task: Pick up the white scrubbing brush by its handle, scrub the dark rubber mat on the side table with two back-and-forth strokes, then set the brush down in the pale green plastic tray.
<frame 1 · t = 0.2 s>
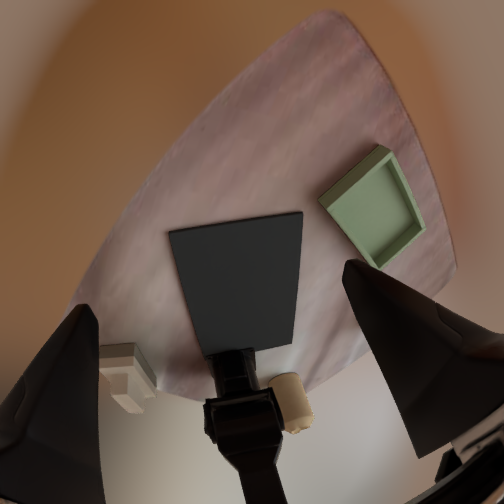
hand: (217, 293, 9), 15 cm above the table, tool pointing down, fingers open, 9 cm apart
mat: (243, 300, 30), on the table
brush: (129, 363, 33), on the table
candle: (283, 379, 44), on the table
tray: (375, 211, 27), on the table
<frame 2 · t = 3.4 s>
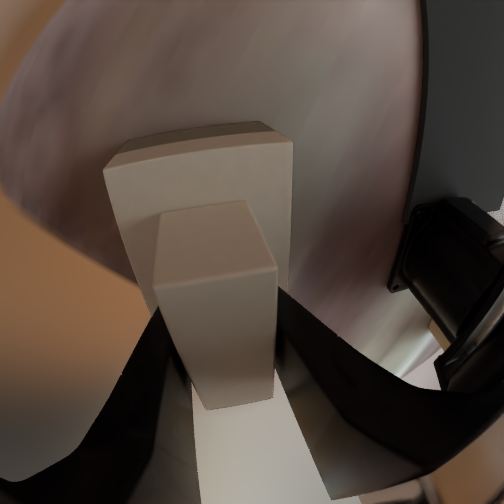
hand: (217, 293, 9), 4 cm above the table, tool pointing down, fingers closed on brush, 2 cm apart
mat: (484, 72, 9), on the table
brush: (206, 231, 12), on the table, touching gripper
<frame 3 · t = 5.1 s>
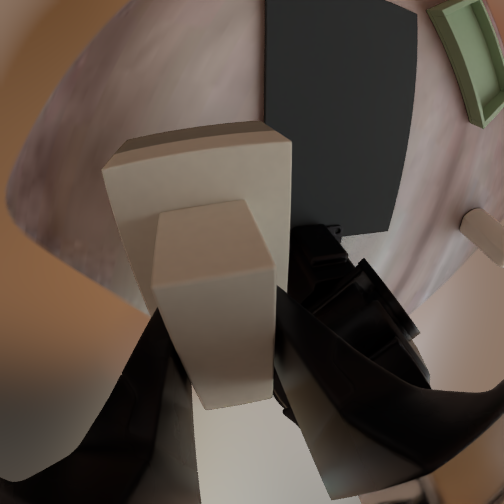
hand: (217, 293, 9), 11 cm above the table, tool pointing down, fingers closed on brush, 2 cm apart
mat: (346, 115, 17), on the table
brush: (206, 231, 12), point 7 cm above the table, touching gripper
eye dropper bottle: (470, 218, 27), on the table
tray: (471, 55, 14), on the table
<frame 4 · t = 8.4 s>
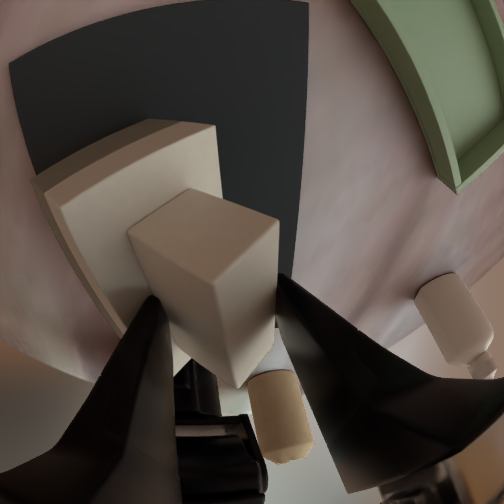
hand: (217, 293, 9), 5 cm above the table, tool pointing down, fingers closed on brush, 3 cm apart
mat: (175, 226, 13), on the table
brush: (125, 243, 11), point 2 cm above the table, tilted 45°, touching gripper, mat
candle: (270, 378, 29), on the table
eye dropper bottle: (434, 284, 23), on the table
tray: (453, 63, 9), on the table
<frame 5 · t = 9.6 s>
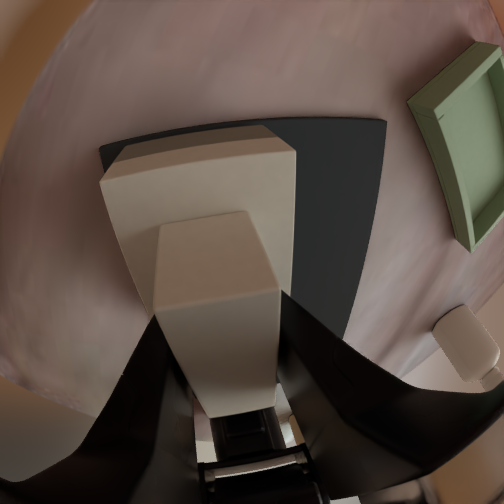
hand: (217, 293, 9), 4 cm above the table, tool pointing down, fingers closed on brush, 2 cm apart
mat: (262, 304, 16), on the table
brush: (208, 237, 12), point 1 cm above the table, touching gripper
eye dropper bottle: (448, 316, 25), on the table
tray: (474, 148, 12), on the table
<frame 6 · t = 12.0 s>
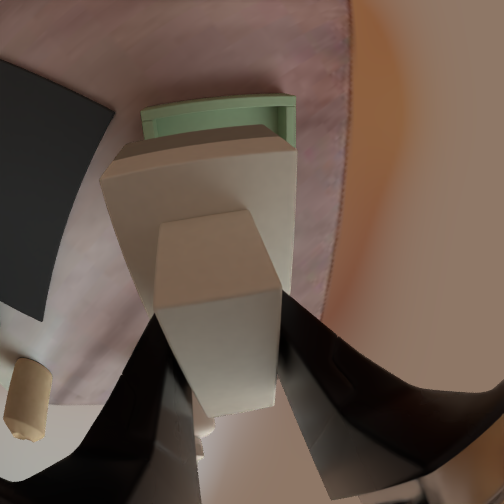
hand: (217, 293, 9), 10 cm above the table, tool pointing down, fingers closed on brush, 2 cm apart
mat: (0, 208, 14), on the table
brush: (207, 236, 12), point 7 cm above the table, touching gripper
candle: (34, 368, 24), on the table
eye dropper bottle: (180, 365, 28), on the table
tray: (223, 190, 18), on the table
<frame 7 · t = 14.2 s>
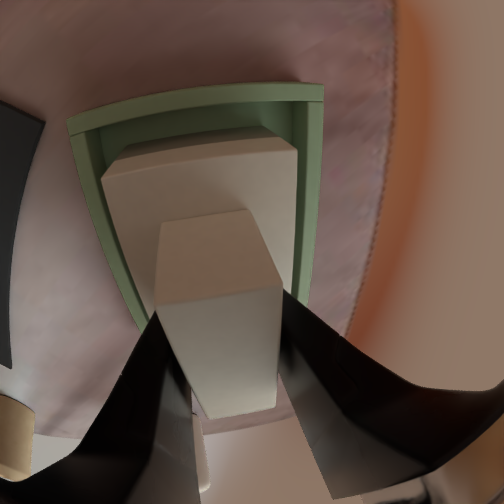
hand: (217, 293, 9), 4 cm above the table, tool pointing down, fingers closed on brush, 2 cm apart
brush: (208, 238, 12), resting on tray, touching gripper
candle: (15, 404, 19), on the table
eye dropper bottle: (170, 414, 22), on the table
tray: (209, 231, 12), on the table
when the fingers open (4 cm above the table, at t = 14.4 s): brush stays where it is, resting on tray.
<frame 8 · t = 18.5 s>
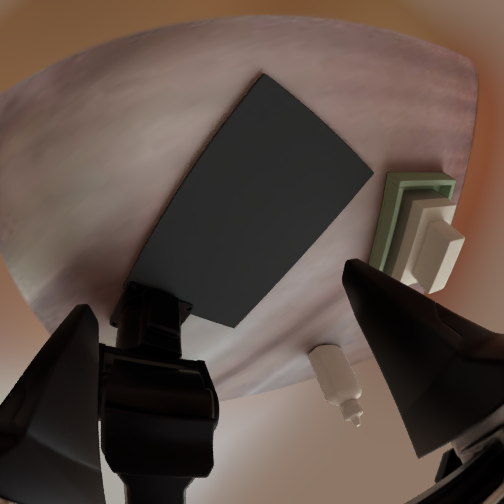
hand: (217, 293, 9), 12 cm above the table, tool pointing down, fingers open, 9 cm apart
mat: (244, 227, 22), on the table
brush: (407, 228, 25), resting on tray
eye dropper bottle: (324, 350, 36), on the table
tray: (406, 226, 26), on the table
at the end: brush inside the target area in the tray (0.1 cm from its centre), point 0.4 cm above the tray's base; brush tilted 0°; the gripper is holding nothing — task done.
